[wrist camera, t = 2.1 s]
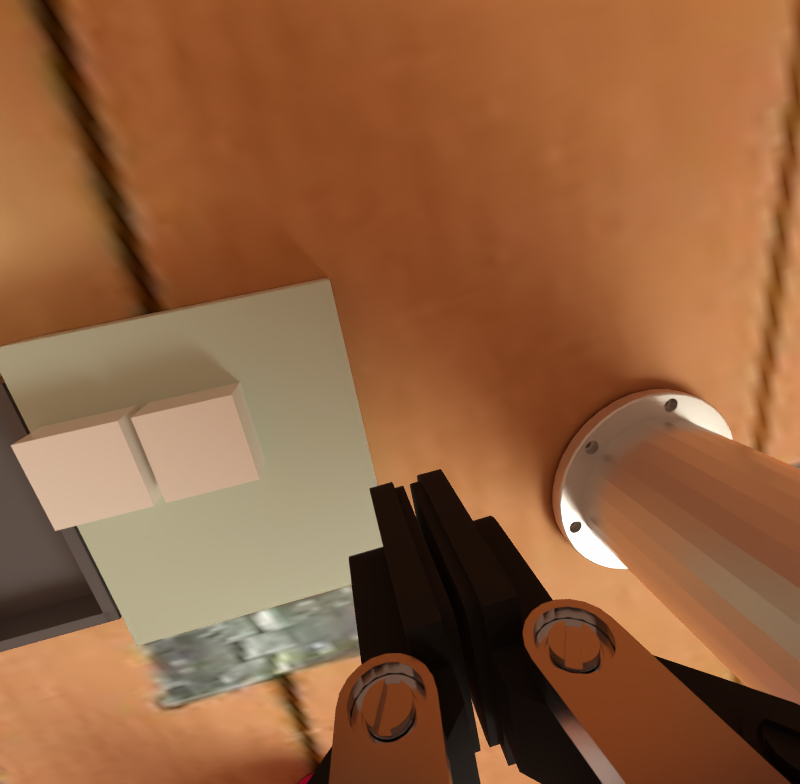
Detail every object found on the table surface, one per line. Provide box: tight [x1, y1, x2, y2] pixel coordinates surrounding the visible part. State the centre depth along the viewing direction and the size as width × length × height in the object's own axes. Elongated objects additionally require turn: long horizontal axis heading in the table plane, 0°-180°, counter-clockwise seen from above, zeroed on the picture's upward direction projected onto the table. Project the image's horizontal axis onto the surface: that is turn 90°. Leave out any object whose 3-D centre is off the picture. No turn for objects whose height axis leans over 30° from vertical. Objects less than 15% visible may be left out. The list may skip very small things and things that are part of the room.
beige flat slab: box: [0, 278, 383, 646], centre depth 22 cm, size 14×16×3 cm
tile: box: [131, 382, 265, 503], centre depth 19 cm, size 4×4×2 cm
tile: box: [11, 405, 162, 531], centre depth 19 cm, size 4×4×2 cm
